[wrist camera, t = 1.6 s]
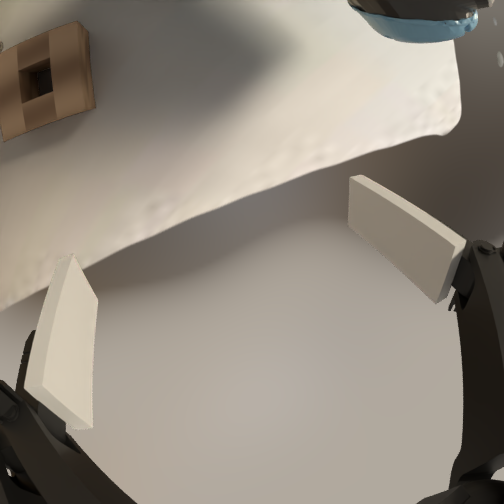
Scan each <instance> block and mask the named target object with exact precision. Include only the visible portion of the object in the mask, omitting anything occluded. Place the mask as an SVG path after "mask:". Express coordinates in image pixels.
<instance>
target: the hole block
mask: <svg viewBox="0 0 504 504" xmlns="http://www.w3.org/2000/svg"><path fill="white" fill-rule="evenodd" d="M48 68H51V76H52V85H53V92H50V93H47V94H45V95H42V96H40V92H39V84H38V74H37V73H38V72H41V71H43V70H46V69H48ZM94 108H96V106H95V99H94V91H93V83H92V74H91V64H90V52H89V36H88V31H87V30H86V29H85V28H84V27H83V26H82V25H81V24H80V23H79V22H78V21H75V22H72V23H69V24H66V25H63V26H60V27H57V28H55V29H52V30H50V31H47V32H45V33H42V34H40V35H37V36H35V37H33V38H30V39H28V40H26V41H24V42H22V43H20V44H17V45H15V46H13V47H11V48H9V49H7V50H6V51H4V52H2V53H0V125H1V130H2V136H3V141H4V142H5V141H7V140H10V139H12V138H14V137H16V136H19V135H21V134H23V133H26V132H28V131H31V130H33V129H35V128H38V127H41V126H43V125H46V124H48V123H51V122H54V121H57V120H59V119H62V118H65V117H68V116H71V115H74V114H77V113H80V112H84V111H87V110H90V109H94Z"/></svg>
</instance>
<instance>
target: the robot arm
mask: <svg viewBox="0 0 504 504" xmlns="http://www.w3.org/2000/svg"><path fill="white" fill-rule="evenodd" d="M347 1H348V3H349V5H350V6H351V7H352V9H354V10H355V11H357V12H358V13H359V14H360V15H361V16H362V17H363V18H364V19H365V20H366V21H367V22H368V23H369V25H370V26H371V27H372V28H373V29H374V30H375V31H377V32H378V33H379V34H381V35H382V36H384V37H387V38H390V39H394V40H396V41H400V42H406V43H434V42H442V41H448V40H452V39H455V38H458V37H460V36H463V35H464V34H465V32H470V31H472V30H473V29H474V28H475V27H476V25H477V22H478V18H477V16H478V13H477V11H476V9H480V8H485V7H491V6H492V4H493V1H494V0H347ZM349 185H350V187H349V213H348V226H349V227H350V228H351V229H353V230H354V231H355V232H356V233H357V234H358V235H360V236H361V237H362V238H363V239H364V240H366V241H367V242H368V243H369V244H370V245H371V246H373V247H374V248H375V249H376V250H377V251H379V252H380V253H381V254H382V255H383V256H384V257H385V258H386V259H388V260H389V261H390V262H391V263H392V264H393V265H394V266H395V267H396V268H398V269H399V270H400V271H401V272H402V273H403V274H404V275H405V276H406V277H407V278H408V279H410V280H411V281H412V282H413V283H414V284H415V285H416V286H417V287H418V288H419V289H420V290H421V291H422V292H423V293H424V294H425V295H426V296H428V297H429V298H430V299H431V300H432V301H433V302H434V303H435V304H437V303H438V302H440V301H442V300H443V299H445V298H446V297H447V296H448V293H449V290H450V288H451V285H452V286H453V287H454V288H455V289H456V291H455V293H454V296H453V298H452V300H451V303H450V305H449V309H448V311H451V309H452V307H453V305H454V304H455V309H454V311H455V312H456V313H457V320H458V327H459V336H460V345H461V356H462V371H463V433H462V445H461V450H460V452H459V454H458V456H457V458H456V459H455V461H454V464H453V467H452V471H451V477H450V484H449V490H447V491H444V492H441V493H438V494H436V495H433V496H430V497H427V498H424V499H422V500H421V501H419V502H418V503H417V504H504V481H500V480H492V479H491V477H492V476H493V474H494V473H495V472H496V471H497V470H499V469H501V468H502V467H504V242H503V245H502V247H500V248H496V247H495V246H493V245H492V244H490V243H488V242H486V241H483V240H476V241H474V242H473V243H472V242H470V241H469V240H467V239H466V238H465V237H463V236H462V235H460V234H459V233H458V232H456V231H455V230H453V229H452V228H451V227H448V225H446V224H445V223H443V222H441V221H440V220H438V219H437V218H436V217H434V216H433V215H430V214H428V213H426V212H424V211H423V210H421V209H419V208H418V207H416V206H415V205H413V204H411V203H410V202H408V201H406V200H405V199H403V198H402V197H400V196H398V195H397V194H395V193H393V192H391V191H390V190H388V189H386V188H385V187H383V186H381V185H379V184H378V183H376V182H374V181H372V180H371V179H369V178H367V177H365V176H363V175H358V176H353V177H350V183H349ZM97 308H98V299H97V297H96V296H95V294H94V292H93V290H92V288H91V286H90V285H89V283H88V281H87V279H86V277H85V275H84V274H83V272H82V270H81V268H80V266H79V264H78V262H77V260H76V258H75V256H74V254H71V255H68V256H65V257H63V258H60V259H59V261H58V264H57V266H56V269H55V272H54V274H53V277H52V280H51V283H50V286H49V289H48V292H47V295H46V298H45V301H44V304H43V308H42V311H41V315H40V318H39V322H38V325H37V329H36V330H33V331H32V332H31V334H30V335H29V337H28V339H27V341H26V343H25V347H24V351H23V354H24V355H22V359H21V363H22V364H20V369H19V373H18V378H17V384H16V390H15V391H14V390H13V389H12V388H11V387H10V386H8V385H7V384H6V383H5V382H4V381H3V380H0V504H137V503H136V502H135V501H133V500H132V499H131V498H130V497H129V496H128V495H127V494H125V493H124V492H123V491H122V490H121V489H120V488H119V487H118V486H117V485H116V484H115V483H114V482H113V481H112V480H111V479H110V478H108V476H107V475H106V474H105V473H104V472H103V471H102V470H101V469H100V468H99V467H98V466H97V465H96V464H95V463H94V462H93V461H92V460H91V459H90V458H89V456H88V455H87V454H86V453H85V452H84V451H83V450H82V449H81V447H80V446H79V445H78V444H77V443H76V441H74V439H73V438H72V437H71V436H70V435H69V434H68V433H67V432H66V424H68V425H69V426H70V427H72V428H73V429H75V430H82V429H90V428H93V412H92V410H93V408H92V383H93V355H94V340H95V328H96V317H97ZM6 468H7V469H9V470H10V471H11V476H12V477H11V476H9V475H8V472H7V469H6Z"/></svg>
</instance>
